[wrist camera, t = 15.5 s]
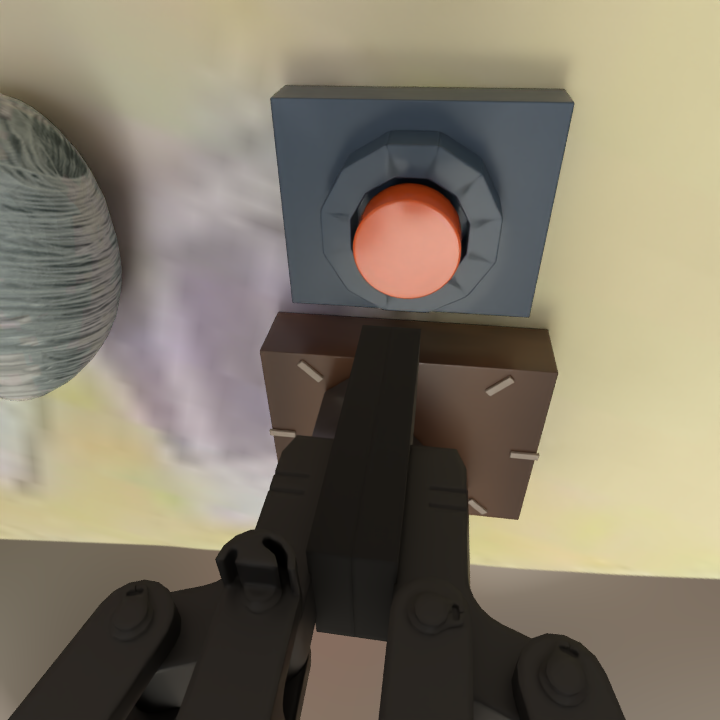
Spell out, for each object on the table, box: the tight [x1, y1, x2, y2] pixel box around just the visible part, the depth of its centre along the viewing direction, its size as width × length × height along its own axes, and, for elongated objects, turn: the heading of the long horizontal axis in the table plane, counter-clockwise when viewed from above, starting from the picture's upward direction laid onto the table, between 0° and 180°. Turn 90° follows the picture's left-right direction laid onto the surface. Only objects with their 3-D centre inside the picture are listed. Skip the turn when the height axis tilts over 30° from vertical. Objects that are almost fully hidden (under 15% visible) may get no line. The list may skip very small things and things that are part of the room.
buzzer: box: [270, 85, 574, 317], centre depth 22 cm, size 11×9×4 cm
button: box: [353, 183, 461, 299], centre depth 20 cm, size 4×4×2 cm
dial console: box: [260, 312, 558, 520], centre depth 30 cm, size 14×14×4 cm
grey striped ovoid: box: [0, 94, 122, 401], centre depth 24 cm, size 14×10×10 cm
